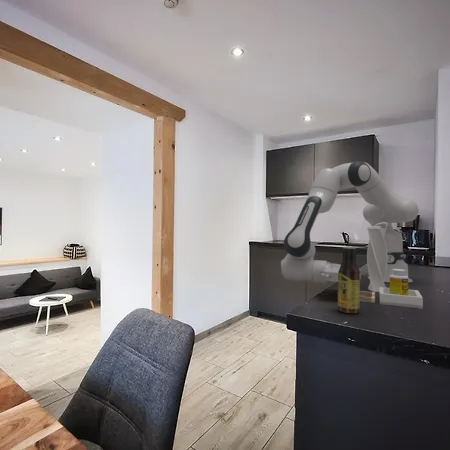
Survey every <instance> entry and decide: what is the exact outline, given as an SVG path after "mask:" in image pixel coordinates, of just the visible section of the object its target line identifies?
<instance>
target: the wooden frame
mask: <svg viewBox="0 0 450 450" xmlns="http://www.w3.org/2000/svg"><path fill="white" fill-rule="evenodd" d="M360 302H364V303H372V304H373V303H374V304H376V292H373V291H365V290H360Z"/></svg>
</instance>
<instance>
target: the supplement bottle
mask: <svg viewBox="0 0 450 450" xmlns="http://www.w3.org/2000/svg"><path fill="white" fill-rule="evenodd" d="M408 278H409V275H408V276H406V270H403V269H392V275H390V282H389V288H390V294H395V295H406V296H408V290H409V282H408Z"/></svg>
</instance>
